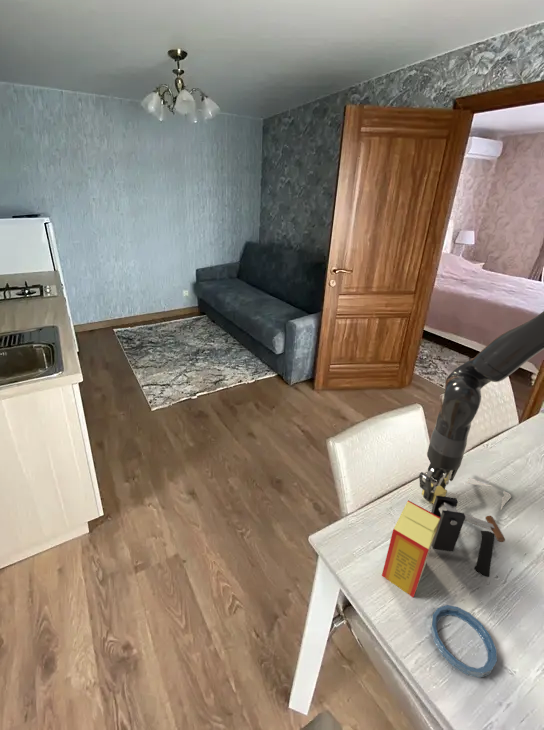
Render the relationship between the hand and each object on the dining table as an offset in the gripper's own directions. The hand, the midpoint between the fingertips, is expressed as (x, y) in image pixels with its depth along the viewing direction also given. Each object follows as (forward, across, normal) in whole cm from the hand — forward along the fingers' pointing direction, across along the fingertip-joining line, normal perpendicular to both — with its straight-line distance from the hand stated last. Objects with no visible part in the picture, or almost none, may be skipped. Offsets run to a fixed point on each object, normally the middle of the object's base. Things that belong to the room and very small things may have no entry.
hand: (433, 496), depth 93 cm
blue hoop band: (+3, -24, -23) cm, 33 cm away
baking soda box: (+3, -22, -9) cm, 24 cm away
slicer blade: (-6, -5, -11) cm, 14 cm away
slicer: (+3, -9, -8) cm, 13 cm away
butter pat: (0, 0, 0) cm, 0 cm away
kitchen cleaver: (+3, +5, -10) cm, 11 cm away
